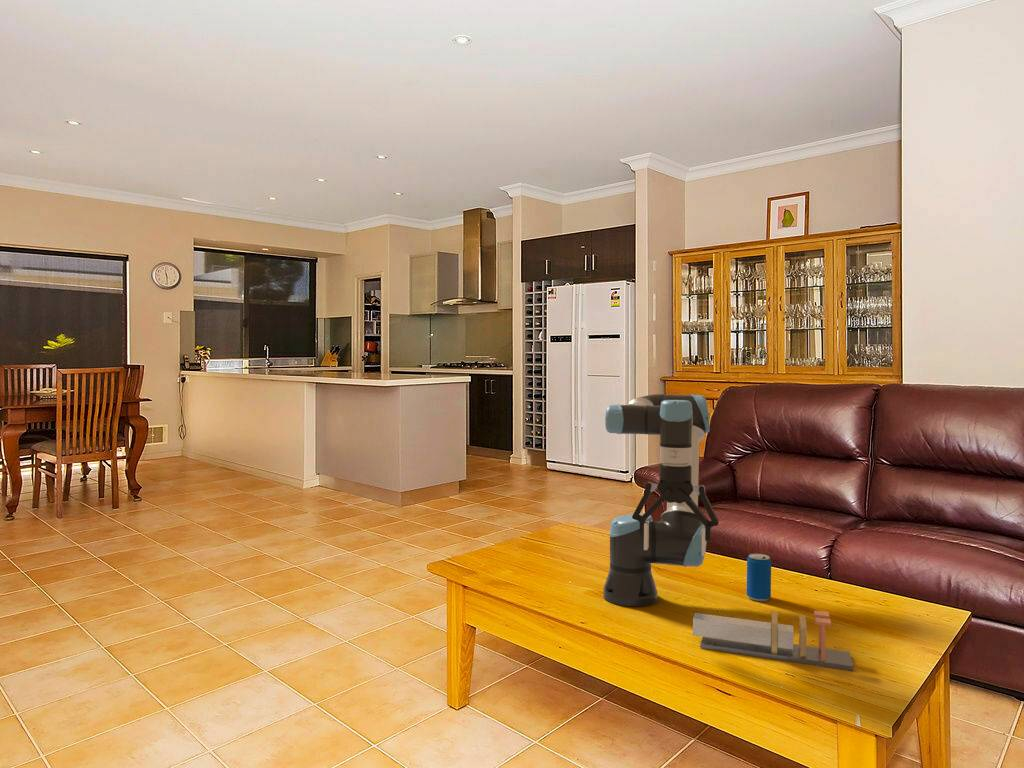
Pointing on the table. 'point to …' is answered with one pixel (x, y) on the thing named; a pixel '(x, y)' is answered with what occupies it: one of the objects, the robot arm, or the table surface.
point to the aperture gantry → (822, 629)
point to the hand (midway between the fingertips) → (674, 551)
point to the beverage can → (759, 577)
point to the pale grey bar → (741, 630)
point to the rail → (798, 653)
